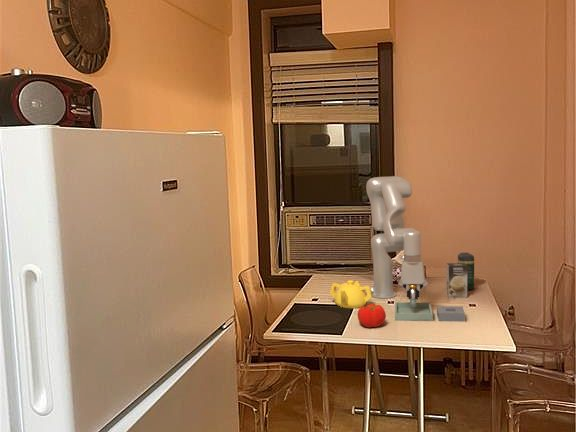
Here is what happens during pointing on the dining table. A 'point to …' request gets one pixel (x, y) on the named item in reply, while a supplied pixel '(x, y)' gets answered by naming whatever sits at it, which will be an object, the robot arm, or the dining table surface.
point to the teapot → (350, 294)
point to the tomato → (371, 315)
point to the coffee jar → (468, 268)
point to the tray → (413, 311)
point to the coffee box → (456, 280)
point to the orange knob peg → (412, 294)
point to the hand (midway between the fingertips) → (413, 298)
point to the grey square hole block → (450, 313)
